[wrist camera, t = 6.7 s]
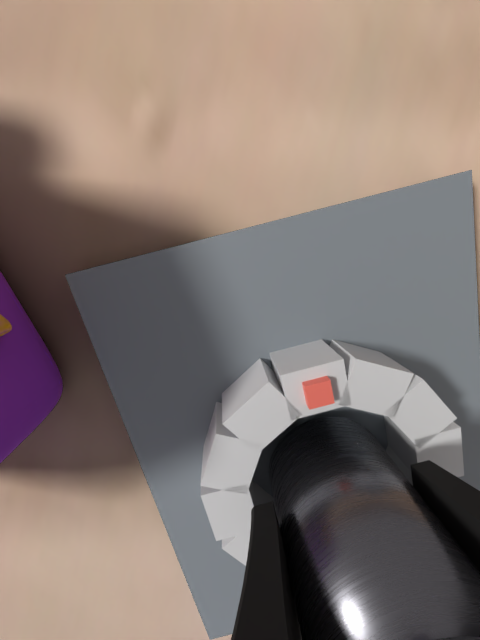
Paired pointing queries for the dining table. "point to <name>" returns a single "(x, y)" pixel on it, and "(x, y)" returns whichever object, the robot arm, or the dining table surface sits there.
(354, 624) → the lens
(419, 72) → the dining table surface
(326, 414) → the mount board
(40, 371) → the toy camera
